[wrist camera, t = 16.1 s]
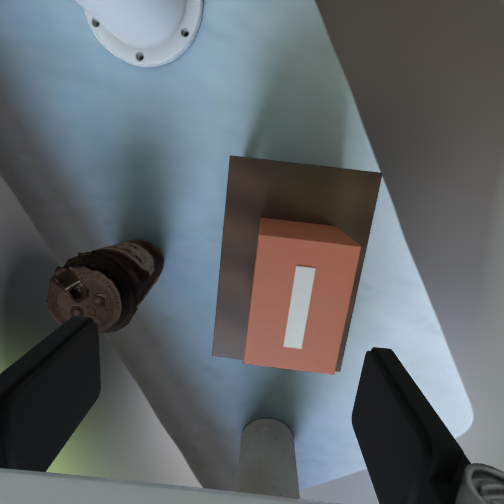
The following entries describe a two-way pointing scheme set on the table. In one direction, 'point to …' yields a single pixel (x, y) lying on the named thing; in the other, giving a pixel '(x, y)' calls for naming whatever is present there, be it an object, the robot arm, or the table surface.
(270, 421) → the thermos bottle
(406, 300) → the table surface
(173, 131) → the table surface
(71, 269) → the coffee cup
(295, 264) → the tissue box
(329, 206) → the slatted side table
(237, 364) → the table surface
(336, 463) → the table surface
